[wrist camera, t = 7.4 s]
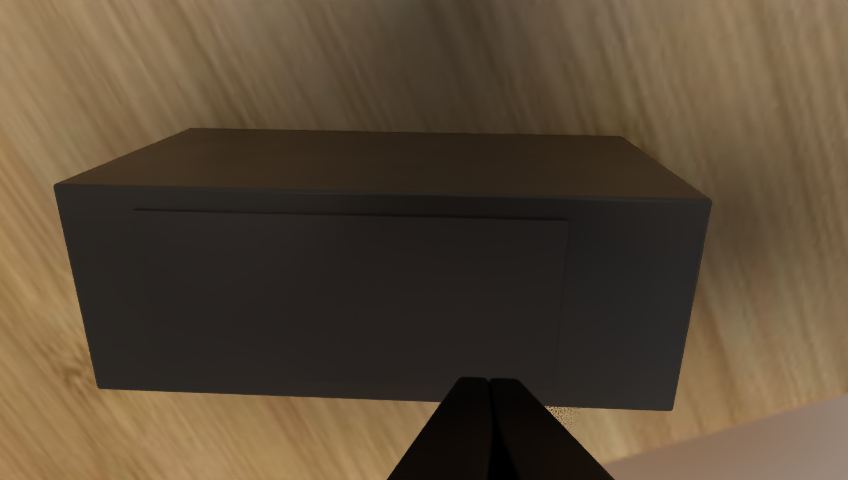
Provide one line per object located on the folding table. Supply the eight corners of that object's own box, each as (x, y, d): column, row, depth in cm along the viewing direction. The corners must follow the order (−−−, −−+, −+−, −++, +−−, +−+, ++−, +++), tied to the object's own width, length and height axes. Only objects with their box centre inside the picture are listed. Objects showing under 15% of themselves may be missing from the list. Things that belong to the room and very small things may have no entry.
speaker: (716, 200, 10) (48, 184, 11) (675, 414, 12) (94, 392, 12) (623, 135, 16) (188, 127, 16) (603, 286, 18) (208, 274, 18)
